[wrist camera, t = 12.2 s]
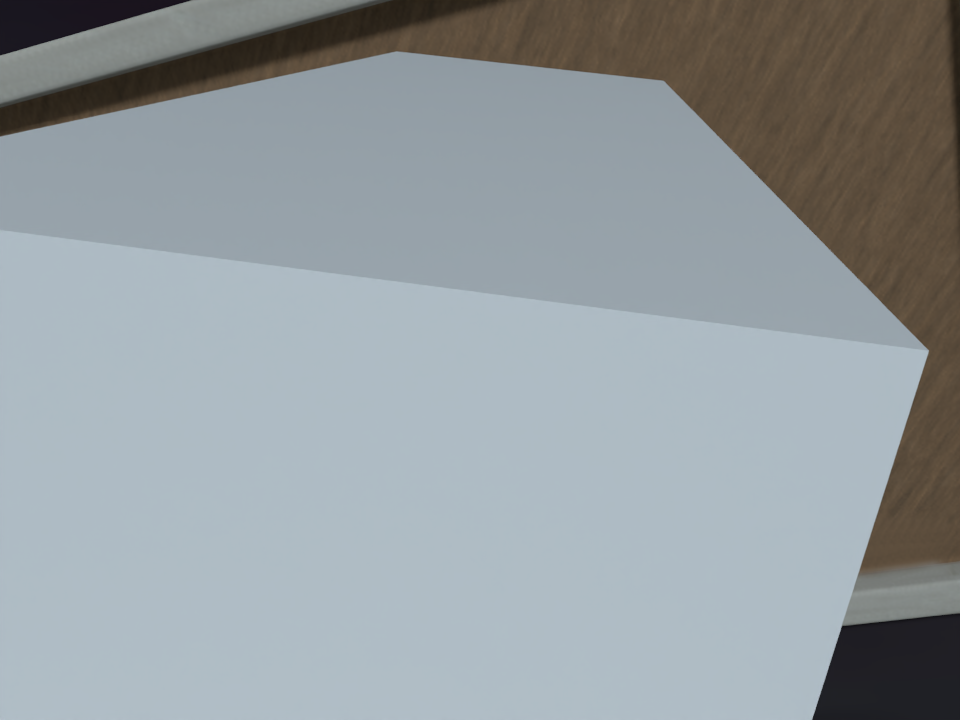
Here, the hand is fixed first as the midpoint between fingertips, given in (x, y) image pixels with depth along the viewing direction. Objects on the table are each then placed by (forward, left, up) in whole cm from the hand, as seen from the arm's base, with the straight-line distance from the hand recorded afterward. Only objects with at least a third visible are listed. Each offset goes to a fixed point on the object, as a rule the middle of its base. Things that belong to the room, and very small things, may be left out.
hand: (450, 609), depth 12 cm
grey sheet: (0, 0, -4) cm, 4 cm away
